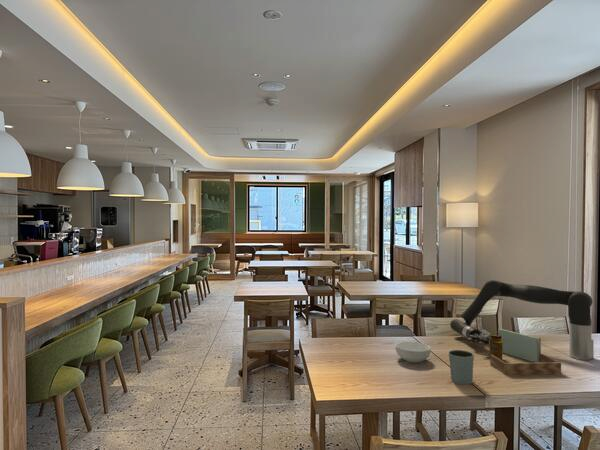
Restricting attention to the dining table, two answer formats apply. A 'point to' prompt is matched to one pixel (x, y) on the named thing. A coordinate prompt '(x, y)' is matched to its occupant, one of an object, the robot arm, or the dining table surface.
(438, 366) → the dining table surface
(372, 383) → the dining table surface
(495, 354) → the condiment
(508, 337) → the cover door
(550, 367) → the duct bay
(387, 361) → the dining table surface
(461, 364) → the blue-grey cup
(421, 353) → the cereal bowl
